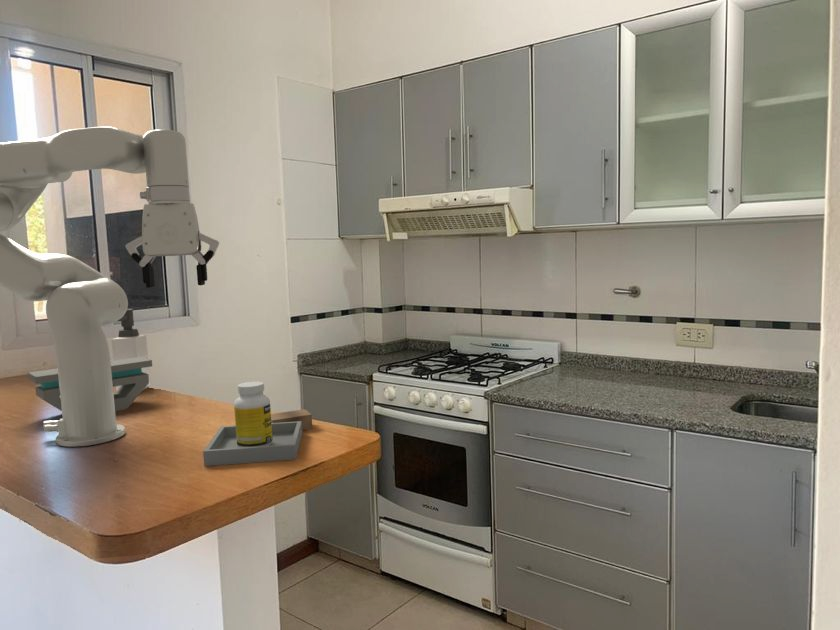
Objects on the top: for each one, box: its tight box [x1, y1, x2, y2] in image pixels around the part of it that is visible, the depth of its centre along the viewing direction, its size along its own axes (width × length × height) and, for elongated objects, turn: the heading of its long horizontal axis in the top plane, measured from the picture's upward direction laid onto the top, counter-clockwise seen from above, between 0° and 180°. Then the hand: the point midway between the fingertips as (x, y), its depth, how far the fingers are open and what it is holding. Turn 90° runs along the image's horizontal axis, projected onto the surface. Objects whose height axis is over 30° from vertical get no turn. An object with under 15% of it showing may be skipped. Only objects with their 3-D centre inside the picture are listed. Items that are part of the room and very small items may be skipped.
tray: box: [202, 421, 303, 467], centre depth 120 cm, size 16×16×3 cm
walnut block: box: [271, 408, 313, 431], centre depth 132 cm, size 8×5×3 cm, turn 116°
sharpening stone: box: [27, 357, 153, 412], centre depth 153 cm, size 25×8×11 cm, turn 132°
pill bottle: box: [233, 381, 272, 448], centre depth 119 cm, size 6×6×12 cm
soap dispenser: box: [110, 308, 151, 392], centre depth 174 cm, size 6×9×22 cm
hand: (176, 286), depth 126 cm, fingers open, 9 cm apart
